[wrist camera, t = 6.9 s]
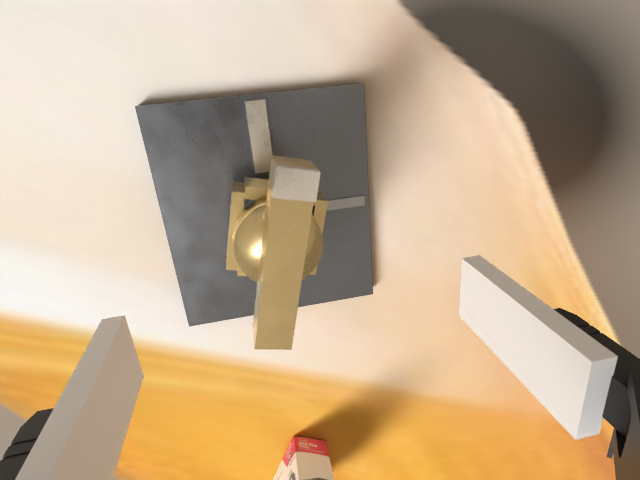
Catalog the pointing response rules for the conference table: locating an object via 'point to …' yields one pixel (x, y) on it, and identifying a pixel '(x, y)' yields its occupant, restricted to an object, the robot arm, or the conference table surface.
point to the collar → (277, 243)
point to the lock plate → (254, 162)
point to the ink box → (305, 461)
